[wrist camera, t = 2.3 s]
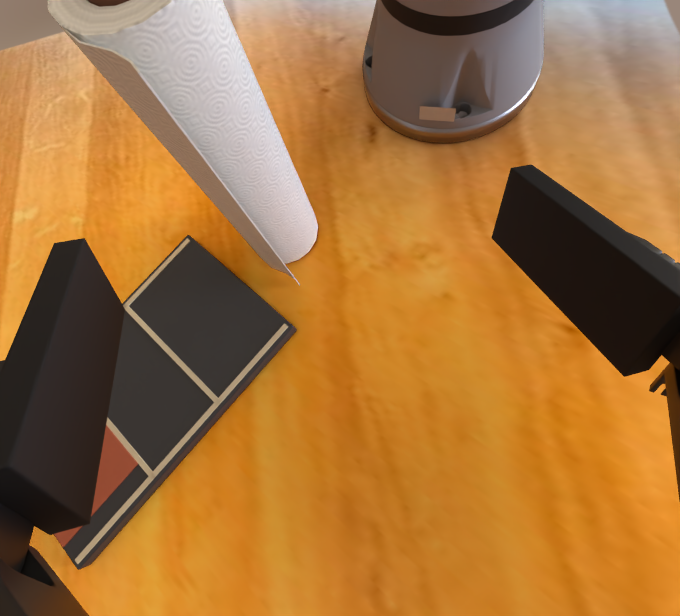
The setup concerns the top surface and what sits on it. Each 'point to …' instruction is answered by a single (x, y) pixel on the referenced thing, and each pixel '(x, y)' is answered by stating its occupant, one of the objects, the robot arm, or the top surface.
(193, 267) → the grid board
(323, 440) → the top surface
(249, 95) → the paper towel roll
